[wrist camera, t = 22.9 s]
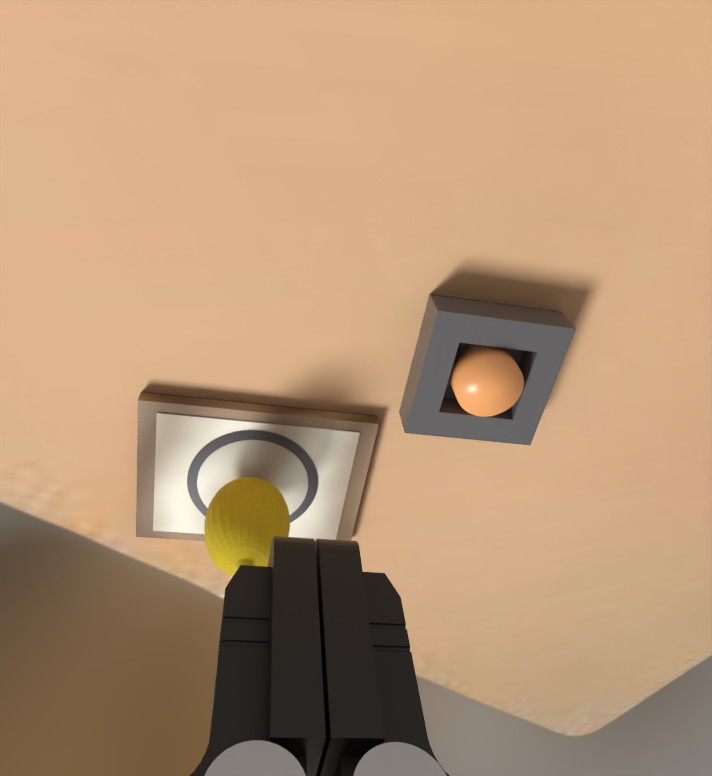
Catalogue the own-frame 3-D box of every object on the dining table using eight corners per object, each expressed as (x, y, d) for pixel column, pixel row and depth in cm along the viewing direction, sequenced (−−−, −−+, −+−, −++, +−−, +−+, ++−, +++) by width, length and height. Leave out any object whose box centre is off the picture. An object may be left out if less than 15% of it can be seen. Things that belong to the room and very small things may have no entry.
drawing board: (377, 416, 45) (379, 426, 44) (347, 541, 51) (348, 553, 50) (141, 392, 42) (137, 402, 41) (138, 527, 48) (135, 539, 47)
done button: (520, 343, 42) (533, 361, 40) (501, 399, 44) (511, 419, 42) (457, 335, 42) (466, 353, 39) (440, 392, 44) (448, 413, 42)
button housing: (561, 312, 42) (575, 329, 40) (518, 424, 47) (530, 445, 44) (429, 294, 41) (437, 310, 38) (399, 412, 45) (404, 432, 43)
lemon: (285, 516, 47) (285, 603, 40) (209, 512, 46) (196, 600, 40) (293, 456, 44) (294, 539, 38) (212, 451, 44) (198, 534, 37)
